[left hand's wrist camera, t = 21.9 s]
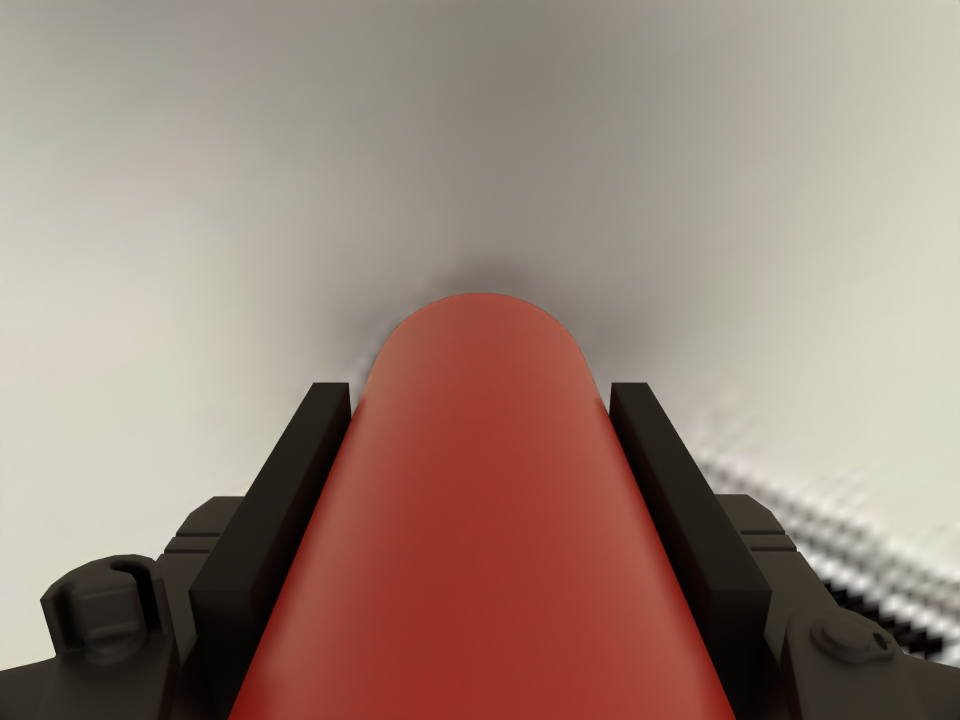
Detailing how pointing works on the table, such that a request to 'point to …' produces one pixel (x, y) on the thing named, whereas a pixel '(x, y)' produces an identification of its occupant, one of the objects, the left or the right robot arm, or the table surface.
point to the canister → (481, 547)
